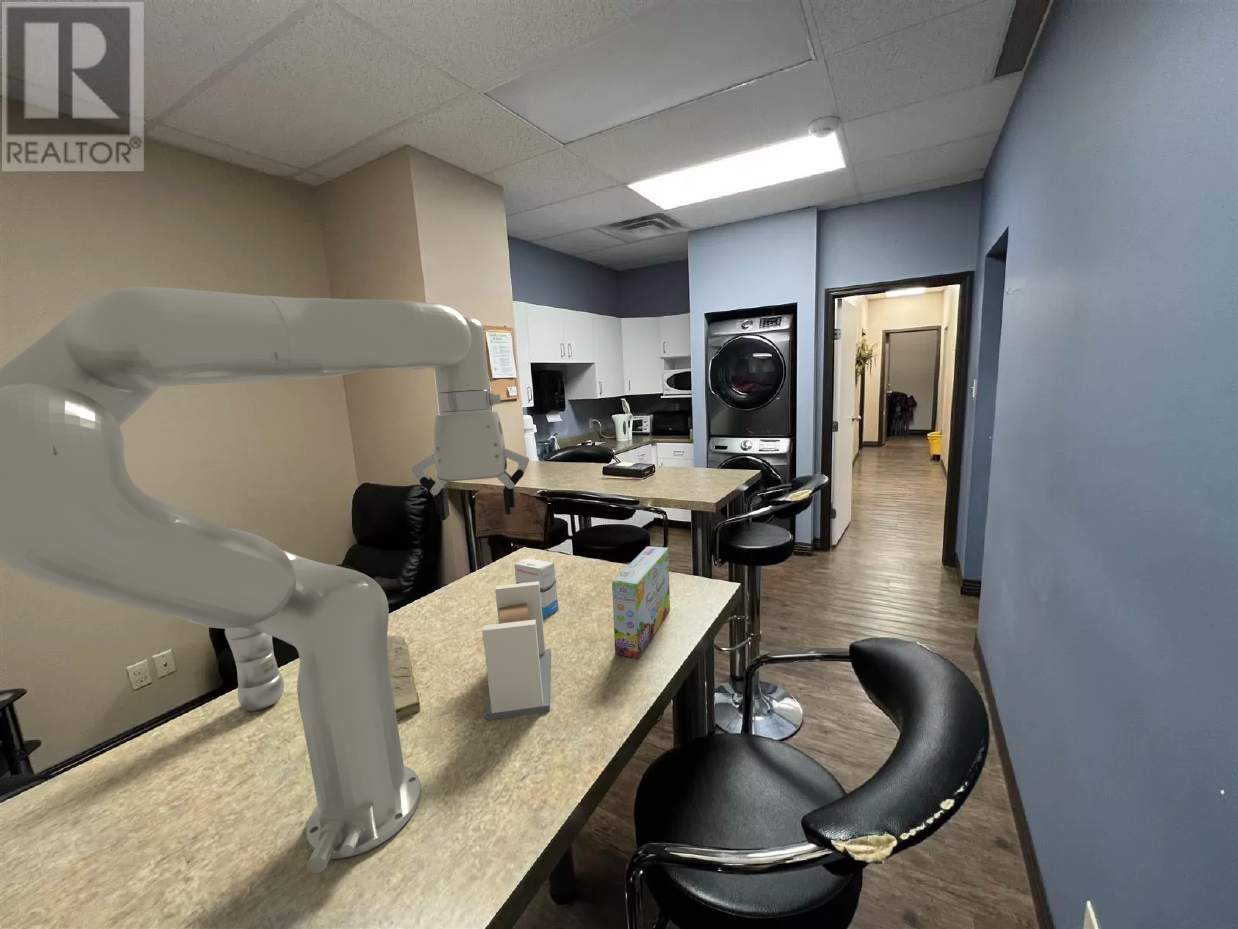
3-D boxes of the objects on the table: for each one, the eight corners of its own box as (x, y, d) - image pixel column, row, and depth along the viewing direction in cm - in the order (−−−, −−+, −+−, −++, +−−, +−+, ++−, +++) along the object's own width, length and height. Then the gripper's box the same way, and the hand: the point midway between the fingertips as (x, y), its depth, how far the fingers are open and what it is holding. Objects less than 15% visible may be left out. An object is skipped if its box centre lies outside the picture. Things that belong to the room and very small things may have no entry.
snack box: (641, 660, 89) (637, 583, 87) (614, 655, 91) (608, 581, 89) (672, 609, 109) (669, 546, 106) (648, 606, 111) (645, 544, 108)
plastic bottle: (282, 687, 88) (262, 584, 85) (290, 703, 83) (269, 594, 80) (238, 705, 83) (215, 596, 80) (243, 722, 79) (220, 608, 75)
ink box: (559, 609, 112) (555, 561, 110) (545, 619, 108) (540, 569, 106) (532, 603, 117) (527, 556, 115) (517, 611, 112) (513, 563, 111)
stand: (549, 711, 77) (541, 623, 74) (486, 720, 75) (475, 631, 73) (551, 653, 93) (544, 580, 91) (498, 660, 92) (490, 586, 90)
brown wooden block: (501, 628, 88) (498, 608, 88) (528, 623, 89) (526, 603, 89) (504, 662, 77) (501, 639, 76) (535, 656, 78) (533, 633, 77)
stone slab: (401, 623, 104) (423, 688, 78) (403, 642, 105) (426, 712, 79) (335, 641, 98) (336, 717, 72) (338, 660, 98) (340, 743, 73)
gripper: (525, 400, 76) (534, 505, 79) (412, 407, 74) (425, 514, 77) (522, 401, 69) (532, 516, 71) (396, 408, 67) (412, 527, 69)
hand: (477, 515), depth 74 cm, fingers open, 9 cm apart
